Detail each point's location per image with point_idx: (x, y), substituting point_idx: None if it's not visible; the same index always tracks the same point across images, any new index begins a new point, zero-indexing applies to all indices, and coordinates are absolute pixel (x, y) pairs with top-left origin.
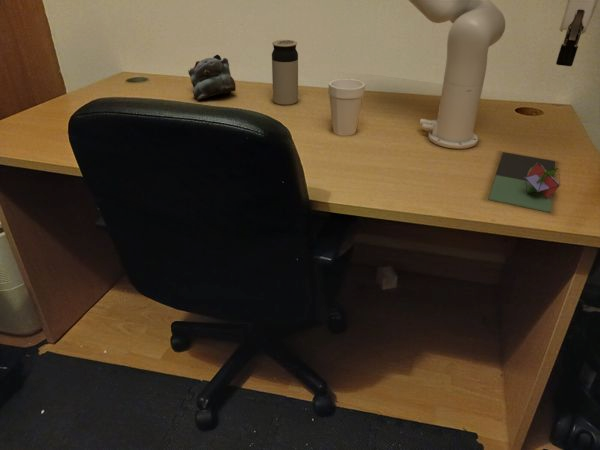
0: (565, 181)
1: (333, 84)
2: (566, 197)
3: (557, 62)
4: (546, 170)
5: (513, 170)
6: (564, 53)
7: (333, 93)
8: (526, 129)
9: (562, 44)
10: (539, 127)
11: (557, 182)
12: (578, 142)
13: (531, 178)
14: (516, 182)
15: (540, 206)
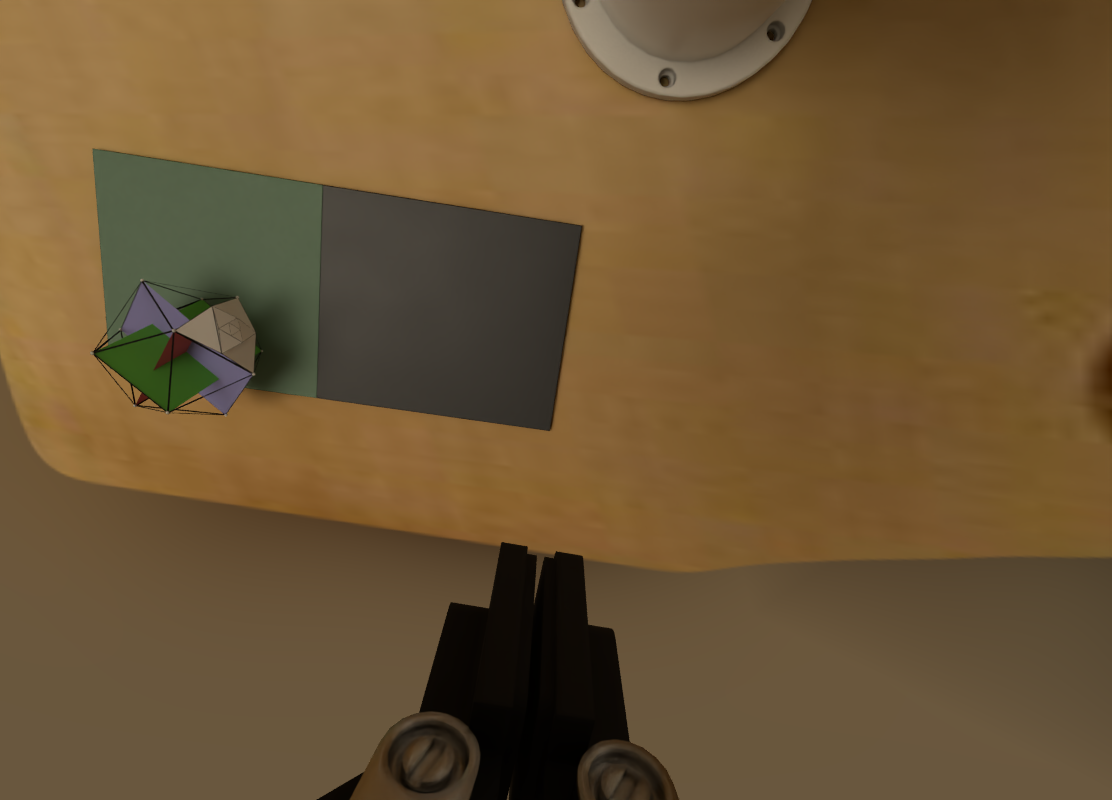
0: (388, 444)
1: None
2: (258, 431)
3: (498, 559)
4: (252, 372)
5: (396, 261)
6: (431, 675)
7: None
8: (900, 351)
9: (565, 725)
10: (934, 409)
11: (228, 406)
12: (780, 537)
13: (161, 308)
14: (288, 267)
15: None
